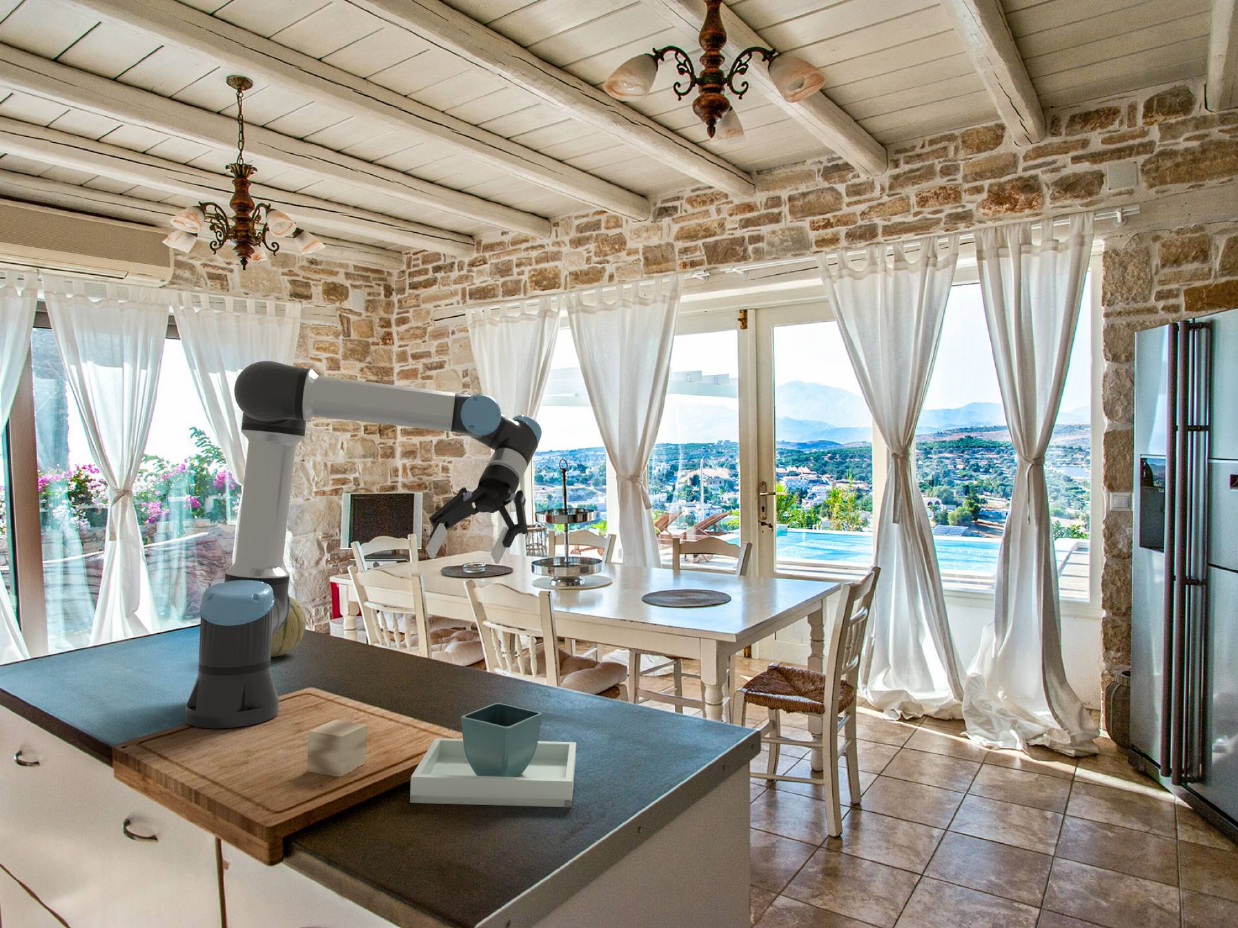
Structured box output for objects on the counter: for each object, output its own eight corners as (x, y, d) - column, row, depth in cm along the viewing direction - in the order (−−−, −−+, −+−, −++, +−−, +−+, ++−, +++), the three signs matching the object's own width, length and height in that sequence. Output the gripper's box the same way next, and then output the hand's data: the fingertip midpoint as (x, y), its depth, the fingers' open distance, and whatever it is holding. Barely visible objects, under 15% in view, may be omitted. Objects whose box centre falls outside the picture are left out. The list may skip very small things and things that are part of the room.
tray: (409, 802, 108) (410, 776, 108) (434, 760, 124) (435, 737, 124) (571, 807, 108) (572, 781, 108) (575, 764, 124) (576, 742, 124)
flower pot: (505, 792, 110) (508, 727, 110) (456, 778, 114) (459, 715, 115) (541, 772, 118) (544, 712, 118) (494, 760, 122) (497, 701, 122)
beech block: (306, 771, 118) (308, 730, 118) (333, 758, 124) (335, 719, 124) (340, 777, 116) (342, 736, 116) (366, 763, 122) (367, 724, 122)
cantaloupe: (261, 647, 196) (264, 586, 196) (316, 651, 194) (319, 589, 194) (223, 660, 181) (226, 595, 182) (283, 665, 179) (286, 598, 180)
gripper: (563, 491, 159) (528, 574, 145) (454, 486, 167) (411, 564, 153) (554, 464, 154) (517, 547, 140) (442, 460, 162) (396, 538, 148)
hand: (461, 556), depth 146 cm, fingers open, 13 cm apart
